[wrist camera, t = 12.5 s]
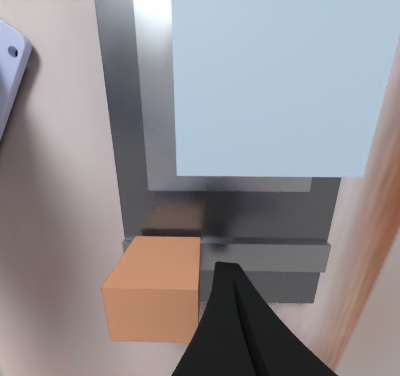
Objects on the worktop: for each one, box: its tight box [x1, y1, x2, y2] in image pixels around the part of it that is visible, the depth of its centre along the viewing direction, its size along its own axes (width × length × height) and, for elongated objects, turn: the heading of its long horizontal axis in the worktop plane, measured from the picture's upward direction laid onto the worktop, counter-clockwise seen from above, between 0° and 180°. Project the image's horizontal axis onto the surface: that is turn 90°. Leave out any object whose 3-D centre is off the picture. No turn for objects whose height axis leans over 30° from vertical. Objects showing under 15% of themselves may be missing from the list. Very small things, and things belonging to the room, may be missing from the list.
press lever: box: [101, 236, 200, 343], centre depth 10 cm, size 3×4×4 cm
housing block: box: [171, 0, 400, 177], centre depth 6 cm, size 5×4×6 cm
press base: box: [94, 0, 341, 303], centre depth 11 cm, size 18×13×2 cm
